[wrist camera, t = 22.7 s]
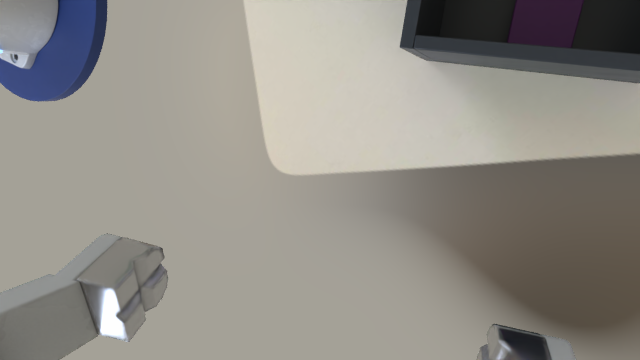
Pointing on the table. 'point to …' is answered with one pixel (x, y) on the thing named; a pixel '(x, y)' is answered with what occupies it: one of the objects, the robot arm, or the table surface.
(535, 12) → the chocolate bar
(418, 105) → the table surface
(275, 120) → the table surface
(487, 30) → the storage bin
